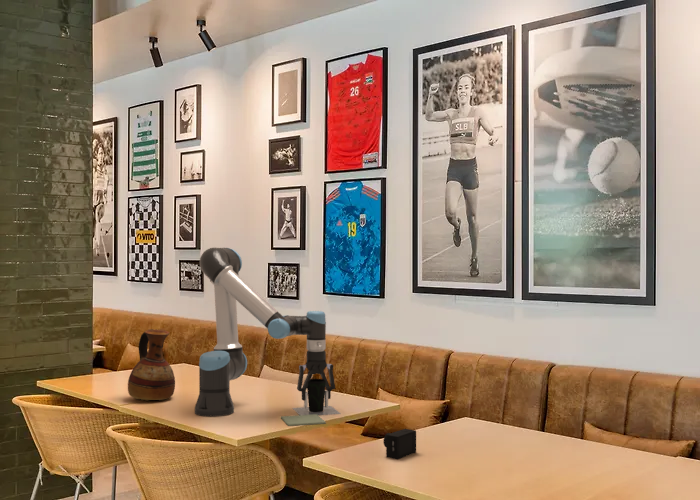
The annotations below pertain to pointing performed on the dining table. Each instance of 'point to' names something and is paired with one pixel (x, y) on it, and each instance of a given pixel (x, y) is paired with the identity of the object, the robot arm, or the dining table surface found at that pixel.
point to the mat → (302, 420)
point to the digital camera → (400, 443)
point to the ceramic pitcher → (152, 369)
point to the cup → (316, 394)
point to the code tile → (326, 411)
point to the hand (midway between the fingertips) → (316, 407)
